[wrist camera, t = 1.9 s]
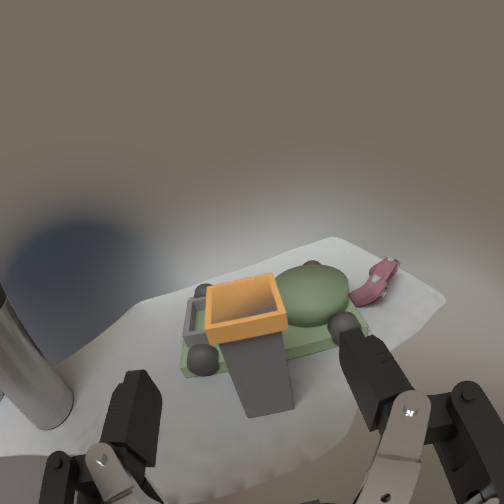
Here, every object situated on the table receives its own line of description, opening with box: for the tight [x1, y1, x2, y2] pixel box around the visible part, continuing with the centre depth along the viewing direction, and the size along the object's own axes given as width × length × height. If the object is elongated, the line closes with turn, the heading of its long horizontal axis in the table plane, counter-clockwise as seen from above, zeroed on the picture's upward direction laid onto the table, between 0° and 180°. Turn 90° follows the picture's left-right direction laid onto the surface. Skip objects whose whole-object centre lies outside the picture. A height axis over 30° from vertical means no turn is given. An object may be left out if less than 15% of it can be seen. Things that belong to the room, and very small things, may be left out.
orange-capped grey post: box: [204, 273, 294, 418], centre depth 25 cm, size 6×6×14 cm
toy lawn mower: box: [180, 260, 368, 378], centre depth 39 cm, size 24×16×5 cm
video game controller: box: [348, 256, 400, 307], centre depth 39 cm, size 10×5×7 cm, turn 136°
